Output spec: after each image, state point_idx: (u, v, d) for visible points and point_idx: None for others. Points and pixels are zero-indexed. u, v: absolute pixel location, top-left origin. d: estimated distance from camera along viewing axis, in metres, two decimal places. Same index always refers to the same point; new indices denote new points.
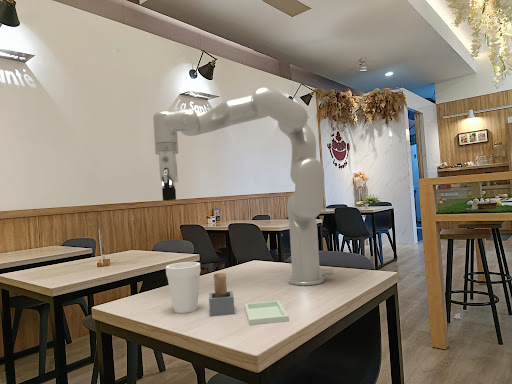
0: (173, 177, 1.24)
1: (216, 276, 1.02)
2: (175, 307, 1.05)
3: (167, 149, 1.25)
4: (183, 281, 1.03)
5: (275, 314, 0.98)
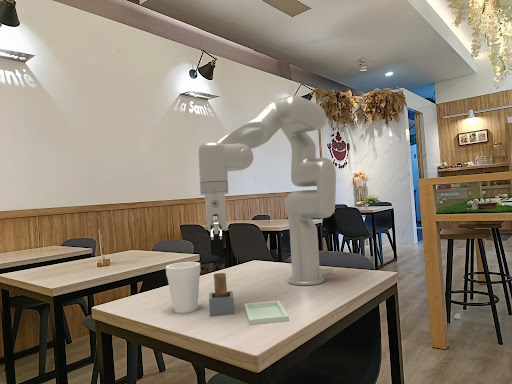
0: (224, 226, 0.99)
1: (216, 276, 1.02)
2: (175, 307, 1.05)
3: (216, 190, 1.00)
4: (183, 281, 1.03)
5: (275, 314, 0.98)
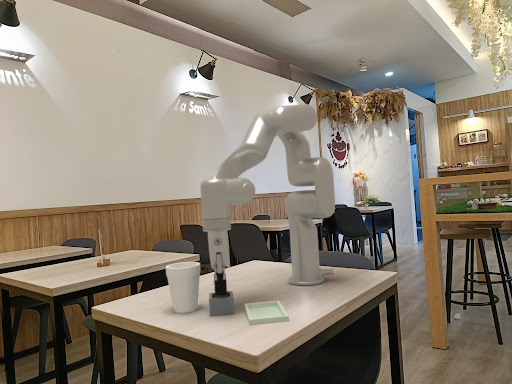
0: (227, 263, 0.99)
1: None
2: (175, 307, 1.05)
3: (219, 227, 1.00)
4: (183, 281, 1.03)
5: (275, 314, 0.98)
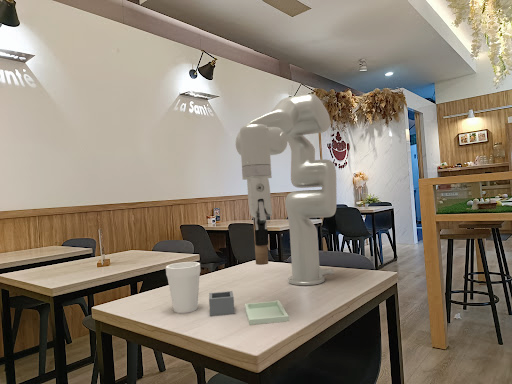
0: (270, 211, 0.94)
1: None
2: (175, 307, 1.05)
3: (261, 174, 0.95)
4: (183, 281, 1.03)
5: (275, 314, 0.98)
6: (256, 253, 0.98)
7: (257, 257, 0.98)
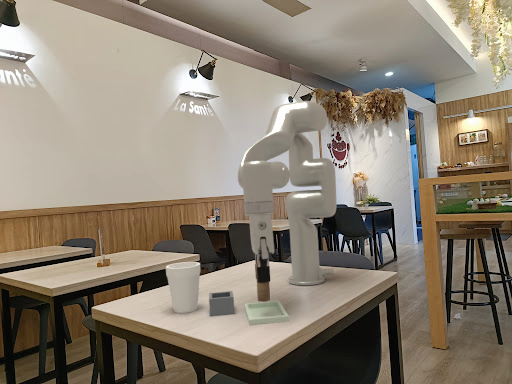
0: (272, 249, 0.94)
1: None
2: (175, 307, 1.05)
3: (263, 211, 0.95)
4: (183, 281, 1.03)
5: (275, 314, 0.98)
6: (258, 290, 0.98)
7: (259, 294, 0.97)
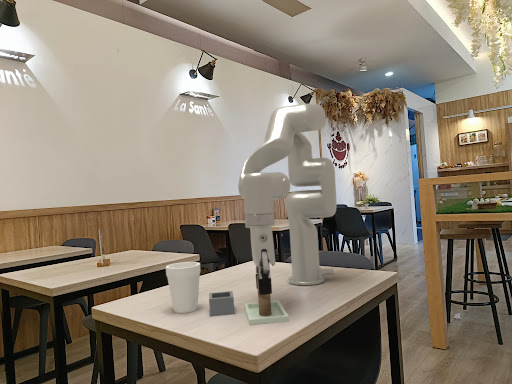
0: (273, 261, 0.94)
1: None
2: (175, 307, 1.05)
3: (264, 223, 0.95)
4: (183, 281, 1.03)
5: (275, 314, 0.98)
6: (259, 304, 0.98)
7: (260, 308, 0.98)
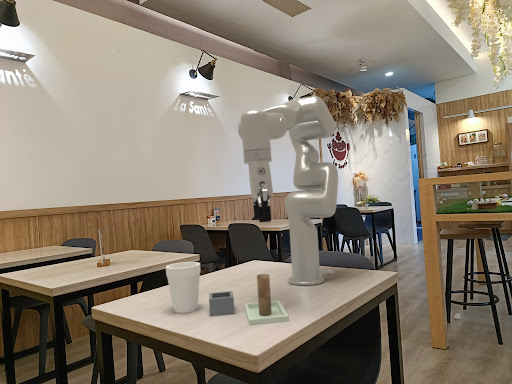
0: (271, 193, 1.00)
1: (260, 277, 0.98)
2: (175, 307, 1.05)
3: (262, 158, 1.01)
4: (183, 281, 1.03)
5: (275, 314, 0.98)
6: (259, 304, 0.98)
7: (260, 308, 0.98)
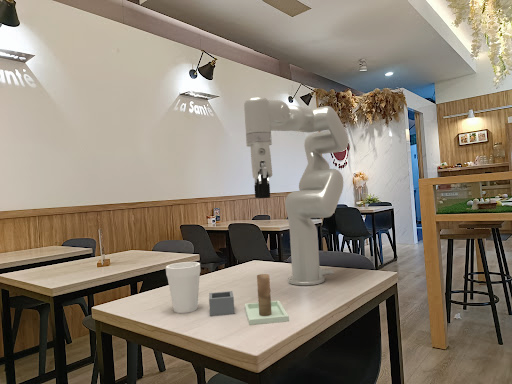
0: (270, 171, 1.09)
1: (260, 277, 0.98)
2: (175, 307, 1.05)
3: (262, 140, 1.10)
4: (183, 281, 1.03)
5: (275, 314, 0.98)
6: (259, 304, 0.98)
7: (260, 308, 0.98)
